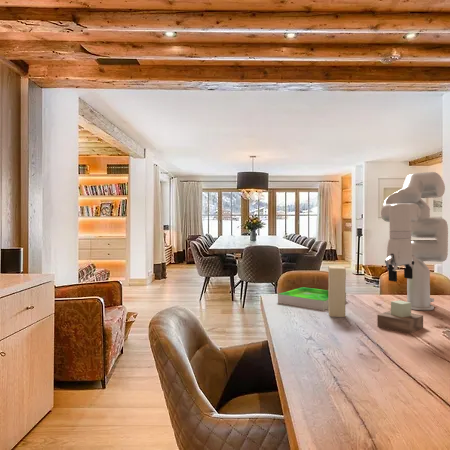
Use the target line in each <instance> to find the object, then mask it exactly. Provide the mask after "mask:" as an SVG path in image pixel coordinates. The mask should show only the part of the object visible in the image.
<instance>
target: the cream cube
mask: <svg viewBox="0 0 450 450" xmlns="http://www.w3.org/2000/svg"><path fill="white" fill-rule="evenodd" d="M390 311H391V314H392V315H395V316H399V317H407V316H411V313H412V309H411V303H410V302H407V301H406V300H405V301H404V300H394V301H393V300H392V301H390Z"/></svg>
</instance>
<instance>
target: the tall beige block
mask: <svg viewBox="0 0 450 450" xmlns="http://www.w3.org/2000/svg"><path fill="white" fill-rule="evenodd" d="M327 274H328V278H327V279H328V289H327V290H328V310H327V311H328V315H329V317H331V318H332V317H333V318H346V302H345V293H346V294H347V291H346V290H347V289H346V282H347V281H346V277H347V274H346V267H345V266H343V265H341V266H340V265H329V266H328V273H327Z"/></svg>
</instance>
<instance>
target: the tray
mask: <svg viewBox="0 0 450 450" xmlns="http://www.w3.org/2000/svg"><path fill="white" fill-rule="evenodd" d="M346 302H347V292H346V293H345V303H346ZM277 303H278V304H282V303H283V304H282V305H288V304H289V306H296V307H302V308H307V309H314V310H318V311H319V310H320V311H326V310H327V309H328V289H319V288H313V287H312V288H311V287H304V286H302V287H298V288H293V289H291V290H288V291H284V292H280V293H277Z"/></svg>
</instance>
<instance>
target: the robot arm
mask: <svg viewBox="0 0 450 450" xmlns="http://www.w3.org/2000/svg"><path fill="white" fill-rule="evenodd" d="M445 191H446V186H445V182H444V180H443V178H442V176H441V175H440V173H438V172H435V171H427V172H414V173H411V174H408V175H407V176H405V178H404V181H403V183H402V186H401V188H400V189H399V190H397V191H395V192H394V193H392V194H390V195H388V196H387V197H386V198H385V199H384V201H383V204H382V205H381V206H382V207H381V211H380V216H381V218H382V220H383V222H388V223H389V239H388V242H387V249H386V258H385V259H384V264H385V268H386V269H387V271H388V281H389V282H395V283H397V281H398V271H397V269H398V266H399V267H401V266H404V268H403V277H404V278H405V279H406V283H407V284H406V293H407V295H406V297H407V298H406V302H410V303H411V310H415V311H432V310H434V309H435V306H434V305H432V304H431V303H432V302H435V298H433V297H431V271H430V269H429V267H428V265H427V264H426V263H425V262H435V263H436V262H437V263H440V262H445V261H447V259H448V254H449V253H448V252H449V224H448V221H447V220H446V219H444V218H443V217H430V216H431V209H430V206H429V205H428V203H427V202H426V201H424V199H435V198H438V199H439V198H441V197H443V195H444V194H445ZM412 238H416V239H418V240H412ZM419 239H420V240H419ZM421 239H435V240H421Z"/></svg>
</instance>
